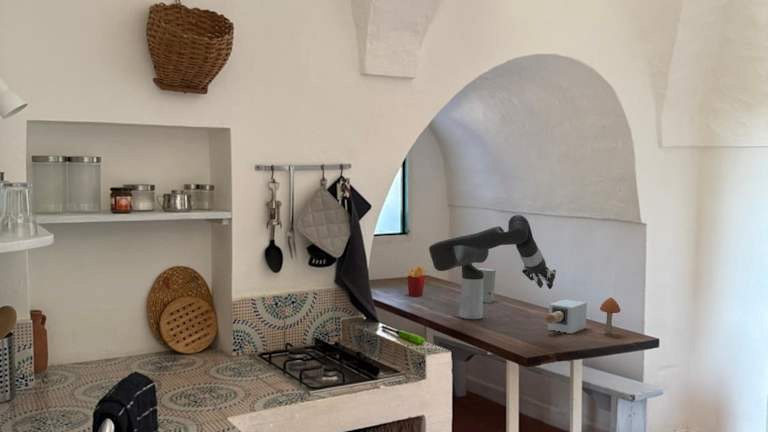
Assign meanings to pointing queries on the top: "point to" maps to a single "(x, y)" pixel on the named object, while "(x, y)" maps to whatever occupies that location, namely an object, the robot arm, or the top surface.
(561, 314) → the peg
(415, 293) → the french fries
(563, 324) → the block
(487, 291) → the skincare box
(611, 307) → the mushroom
